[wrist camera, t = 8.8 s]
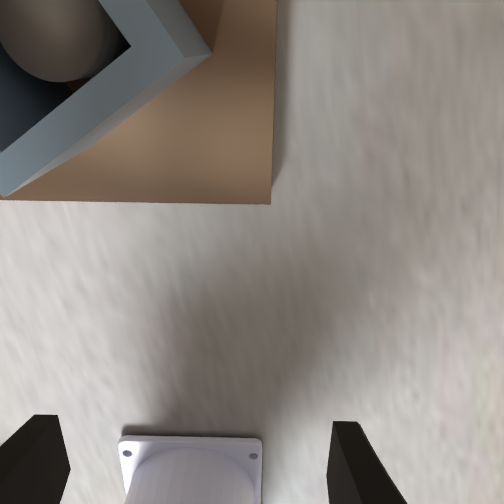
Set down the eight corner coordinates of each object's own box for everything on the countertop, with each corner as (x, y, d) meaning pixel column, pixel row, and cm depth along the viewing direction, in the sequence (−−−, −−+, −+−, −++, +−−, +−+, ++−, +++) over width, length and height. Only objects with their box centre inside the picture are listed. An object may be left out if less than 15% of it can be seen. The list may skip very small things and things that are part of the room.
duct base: (269, 192, 18) (273, 240, 14) (-15, 188, 18) (-104, 234, 14) (281, -190, 13) (292, -315, 9) (-113, -193, 13) (-306, -317, 9)
